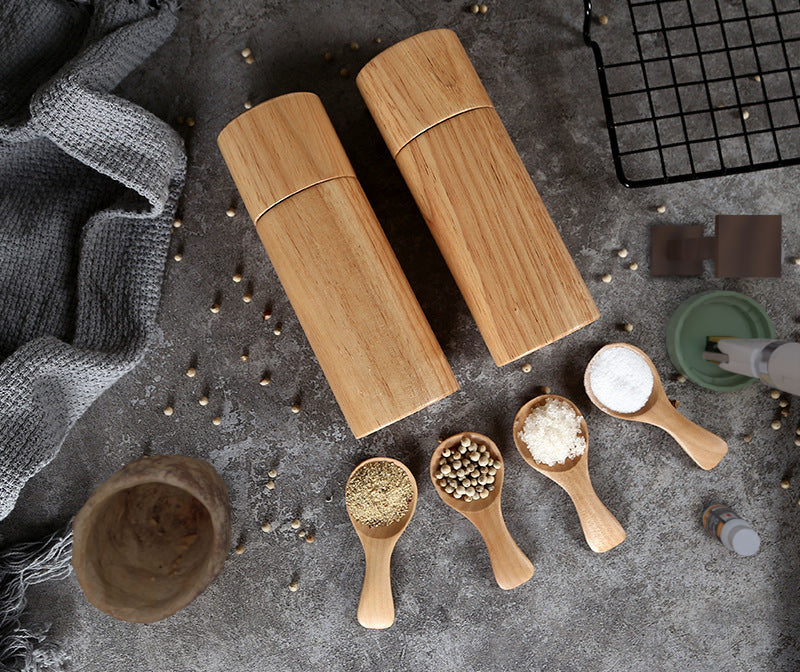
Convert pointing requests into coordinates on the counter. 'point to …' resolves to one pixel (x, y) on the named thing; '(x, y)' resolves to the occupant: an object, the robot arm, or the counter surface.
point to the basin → (714, 318)
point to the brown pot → (152, 537)
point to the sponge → (716, 339)
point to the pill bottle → (731, 530)
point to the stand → (720, 247)
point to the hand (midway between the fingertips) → (723, 349)
